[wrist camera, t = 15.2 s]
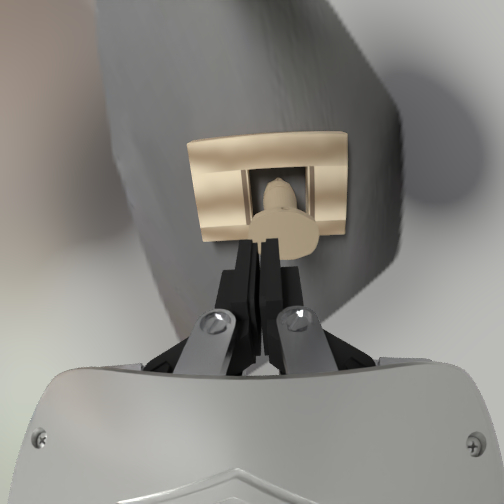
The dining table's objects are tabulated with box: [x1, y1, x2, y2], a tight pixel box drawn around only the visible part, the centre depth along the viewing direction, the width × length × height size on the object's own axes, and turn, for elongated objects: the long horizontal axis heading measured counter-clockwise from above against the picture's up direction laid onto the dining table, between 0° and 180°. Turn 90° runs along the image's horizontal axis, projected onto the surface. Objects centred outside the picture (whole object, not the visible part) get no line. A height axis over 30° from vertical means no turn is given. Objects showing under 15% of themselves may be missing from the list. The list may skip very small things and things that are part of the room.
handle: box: [248, 178, 319, 260], centre depth 32 cm, size 5×6×15 cm
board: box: [187, 131, 348, 242], centre depth 37 cm, size 14×20×3 cm
